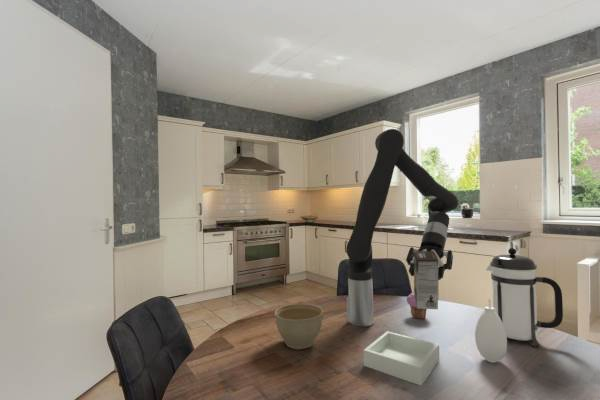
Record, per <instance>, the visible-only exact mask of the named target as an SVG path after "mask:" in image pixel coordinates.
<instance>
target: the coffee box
mask: <svg viewBox="0 0 600 400" xmlns="http://www.w3.org/2000/svg"><path fill="white" fill-rule="evenodd" d="M413 259H414V276H413V292H414V297H415V301H416V305H417V308H420V309H427V310H439V304H438V303H439V280H438V268H439V266H438V259H437V257H436V255H435V253H434V251H414V258H413Z"/></svg>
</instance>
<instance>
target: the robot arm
mask: <svg viewBox="0 0 600 400" xmlns="http://www.w3.org/2000/svg"><path fill="white" fill-rule="evenodd" d="M404 141H405V139H404V136H403V133H402V132H401V131H400V130H399V129H396V128H390V129H386V130H384V131H382V132H381V133H379V134H378V135H377V136H376V138H375V142H374V145H375V148H376V150H377V154H376V159H375V162H374V164H373V167H372V169H371V171H370V173H369V175H368V177H367V179H366V181H365V184H364V185H363V186H364V187H363V190H362V193H361V197H360V200H359V204H358V209H357V215H356V220H355V224H354V227H353V230H352V232H351V235H350V238H349V240H348V242H347V244H346V248H345V249H346V255H347V256H348V271H347V276H348V277H347V278H348V279H347V283H348V296H346V321H347V323H350V325H353V326H356V327H370V326H372V325H374V323H375V322H374V290H373V244H372V243H373V238H374V237H373V236H374V232H375V229H376V226H377V224H378V223H379V220H380V218H381V215H382V214H383V210H384V207H385V205H386V202H387V199H388V194H389V190H390V187H391V183H392V178H393V174H394V171H395V167H396V168H397V169H398V170H399V171H400V172H401V173H402V174H403V175H404V177H406V178H407V180H408V181H409V182H410V183H411V184H412V186H414V187H415V189H416V190H417V191H418V192H419V193H420V194H421V195H422V196H423V197H427V198H428V197H433V198H431V199H430V200H429V202H428V204H427V211H428V212H427V213H428V221H427V223H426V226H425V228H424V232H423V235H422V239H421V242H420V246H419V248H418V249H417V248H416V249H415V248H414V247H412V246H411V247H410V248H409V250H408V252H407V255H406V259H405V261H406V263H407V265H408V266H409V267H408V273H409V275H410V276H411V277H414V251H434V253H435V255H436V257H437V259H438V281H440V280H441V279H443V278H444V274H445V271H446V270H447V271H450V270H452V268H453V267H452V266H453V259H454V254H453V251H452V250H450V249H449V250H448V251H445V247H446V242H447V239H448V229H449V224H450V216H449V215H448V214H447V213H449V212H452V211H455V210H456V209H458V206H459V200H458V198H457V196H456V194H455V193H453V192H452V191H450V190H449V189H448V188H446V187H445V186H443V185H442V184H440V183H439V182H437V181H436V179H434V177H433V176H432V175H431V174H430V173H429V171H428V170H426V169H425V167H423V166H421V165H420V164H419V163H418V162H417V161H415V160H414V159H413V158H412V157H411V156H410V155H409V154H408V153H407V152H406V150H404V148H403V147H404V143H405V142H404ZM443 257H445V259H446V261H445V263H443V261H442V260H441V259H442V258H443Z"/></svg>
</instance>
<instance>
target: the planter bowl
mask: <svg viewBox="0 0 600 400" xmlns="http://www.w3.org/2000/svg"><path fill="white" fill-rule="evenodd" d="M323 314H324V311H323V309H322V308H321V307H320V306H318V305H315V304H310V303H292V304H287V305H282V306H281V307H278V308H277V309H276V310H275V311H274V317H275V324H276V328H277V331H278V333H279V334H280V336H281V339H283V340H284V344H285V345H287V346H286V347H288V348H289V347H290V349H292V348H293V350H303V349H309V348H310V347H312V346H313V345H314V344H315V340H316V339H317V337H318V336H319V333H320V331H321V328H322V324H323Z"/></svg>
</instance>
